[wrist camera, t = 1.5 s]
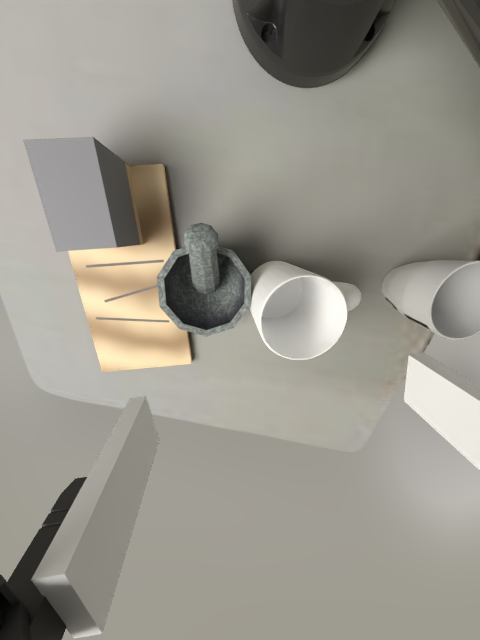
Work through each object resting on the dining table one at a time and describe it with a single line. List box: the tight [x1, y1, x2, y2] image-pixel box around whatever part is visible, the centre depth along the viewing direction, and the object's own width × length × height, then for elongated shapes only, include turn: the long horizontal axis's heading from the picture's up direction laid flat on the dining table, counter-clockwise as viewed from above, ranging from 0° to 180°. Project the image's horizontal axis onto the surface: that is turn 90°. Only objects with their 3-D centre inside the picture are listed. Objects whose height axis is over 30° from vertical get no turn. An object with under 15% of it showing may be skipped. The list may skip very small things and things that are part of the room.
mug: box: [249, 261, 362, 360], centre depth 27 cm, size 8×12×12 cm
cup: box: [382, 260, 480, 340], centre depth 29 cm, size 8×8×10 cm
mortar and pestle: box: [157, 223, 251, 336], centre depth 26 cm, size 11×9×12 cm
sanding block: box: [24, 137, 144, 252], centre depth 24 cm, size 8×5×8 cm, turn 4°
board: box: [68, 164, 192, 372], centre depth 30 cm, size 24×12×1 cm, turn 4°
